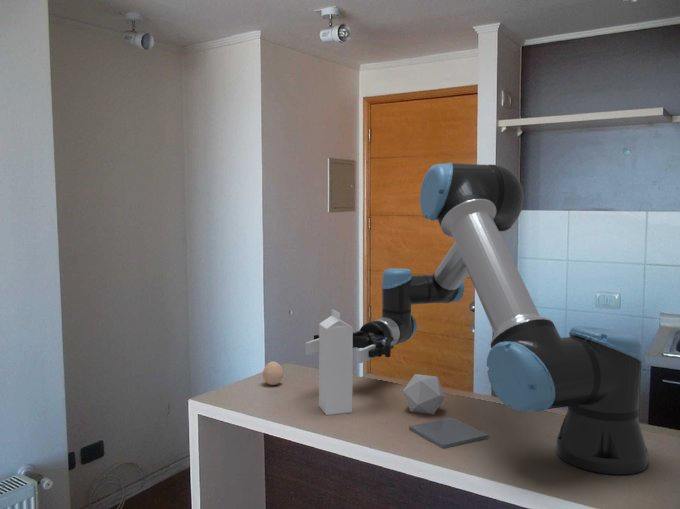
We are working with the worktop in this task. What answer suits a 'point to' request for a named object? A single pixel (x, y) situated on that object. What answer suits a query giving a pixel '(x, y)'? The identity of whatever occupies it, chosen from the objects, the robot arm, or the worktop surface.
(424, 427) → the coaster
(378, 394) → the worktop surface
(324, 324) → the milk
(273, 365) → the egg
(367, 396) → the worktop surface
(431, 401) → the die
